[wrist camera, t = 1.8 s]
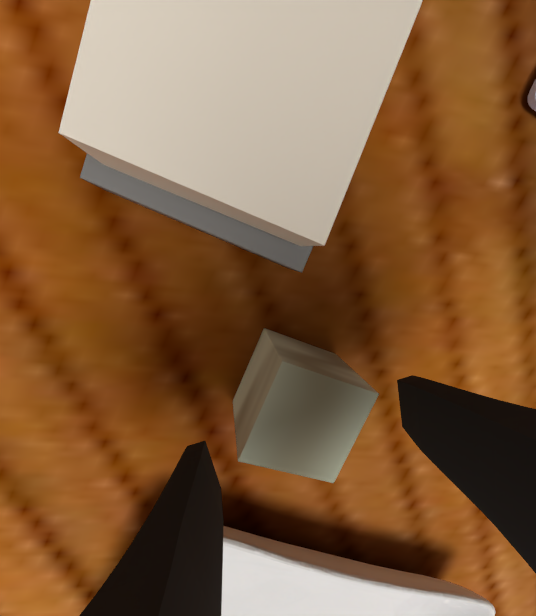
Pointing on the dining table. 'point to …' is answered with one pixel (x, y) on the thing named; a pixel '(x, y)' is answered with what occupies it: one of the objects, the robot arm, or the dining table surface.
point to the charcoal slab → (196, 215)
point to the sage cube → (299, 408)
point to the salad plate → (329, 584)
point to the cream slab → (238, 100)
